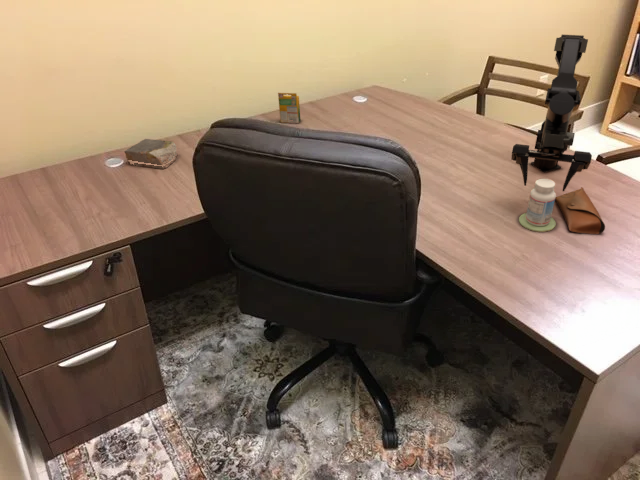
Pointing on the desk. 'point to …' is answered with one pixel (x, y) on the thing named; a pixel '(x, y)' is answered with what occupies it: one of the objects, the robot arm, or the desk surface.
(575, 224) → the sunglasses case
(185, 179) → the desk surface
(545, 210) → the pill bottle
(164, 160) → the geological specimen
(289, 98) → the crayon box
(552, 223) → the felt coaster
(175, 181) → the desk surface
